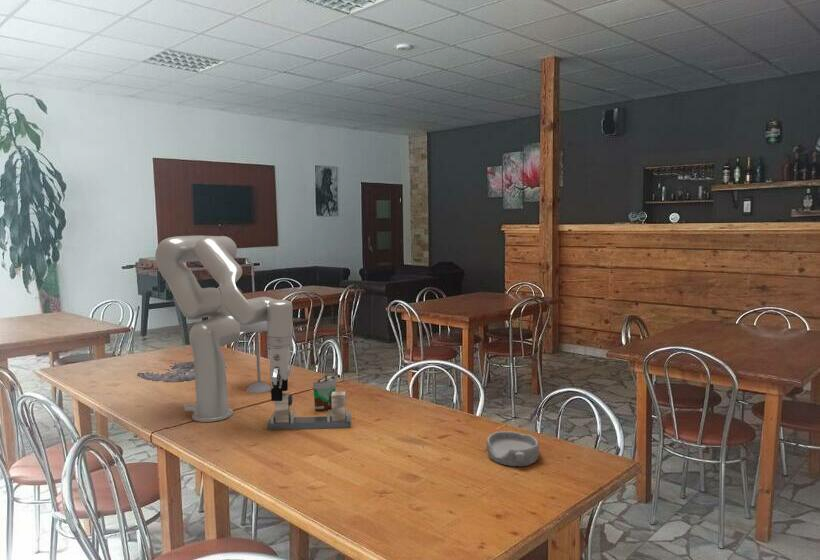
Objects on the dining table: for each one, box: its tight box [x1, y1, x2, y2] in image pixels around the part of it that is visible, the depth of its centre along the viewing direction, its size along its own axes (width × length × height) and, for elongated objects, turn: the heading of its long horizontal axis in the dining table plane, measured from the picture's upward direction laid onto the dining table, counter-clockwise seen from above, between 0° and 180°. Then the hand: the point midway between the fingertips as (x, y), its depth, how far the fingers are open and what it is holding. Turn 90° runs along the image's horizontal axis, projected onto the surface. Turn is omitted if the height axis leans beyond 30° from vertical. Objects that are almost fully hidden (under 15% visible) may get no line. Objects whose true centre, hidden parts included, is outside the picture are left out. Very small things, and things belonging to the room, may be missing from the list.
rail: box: [266, 409, 352, 431], centre depth 183 cm, size 25×5×4 cm, turn 92°
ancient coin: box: [136, 361, 195, 383], centre depth 253 cm, size 33×35×1 cm
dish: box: [486, 430, 540, 467], centre depth 158 cm, size 14×14×5 cm
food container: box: [312, 373, 338, 412], centre depth 201 cm, size 12×6×10 cm, turn 168°
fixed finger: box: [329, 390, 347, 421], centre depth 183 cm, size 5×4×8 cm
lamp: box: [239, 321, 272, 394], centre depth 222 cm, size 17×17×33 cm
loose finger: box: [274, 392, 293, 423], centre depth 183 cm, size 4×5×8 cm
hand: (279, 395), depth 183 cm, fingers open, 9 cm apart
